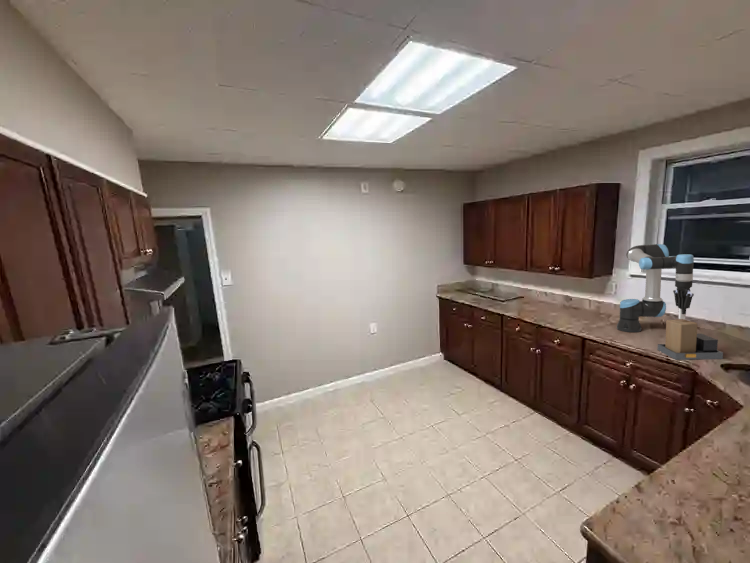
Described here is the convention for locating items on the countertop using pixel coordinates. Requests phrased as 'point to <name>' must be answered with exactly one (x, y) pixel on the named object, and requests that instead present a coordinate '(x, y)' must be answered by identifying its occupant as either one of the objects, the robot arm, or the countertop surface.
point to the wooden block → (681, 335)
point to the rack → (704, 350)
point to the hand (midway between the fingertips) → (681, 318)
